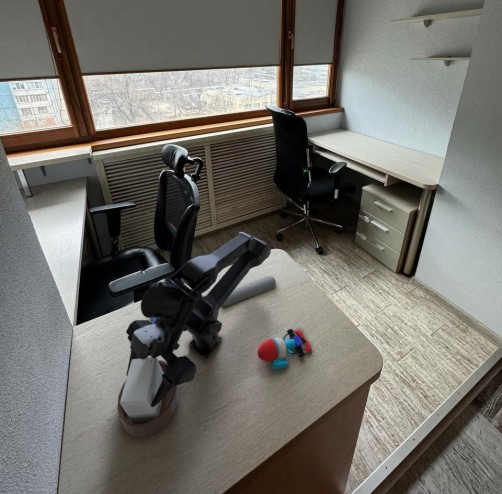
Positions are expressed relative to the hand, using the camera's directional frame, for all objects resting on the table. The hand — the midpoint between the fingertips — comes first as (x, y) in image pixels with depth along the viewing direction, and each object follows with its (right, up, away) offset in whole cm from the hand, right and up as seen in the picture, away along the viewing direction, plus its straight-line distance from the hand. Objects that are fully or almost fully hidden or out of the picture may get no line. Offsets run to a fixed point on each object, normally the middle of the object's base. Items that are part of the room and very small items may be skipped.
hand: (139, 390), depth 58 cm
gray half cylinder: (+23, +5, +32) cm, 40 cm away
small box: (+1, -6, +4) cm, 7 cm away
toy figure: (+33, -2, +14) cm, 36 cm away
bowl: (+1, -6, +4) cm, 8 cm away
